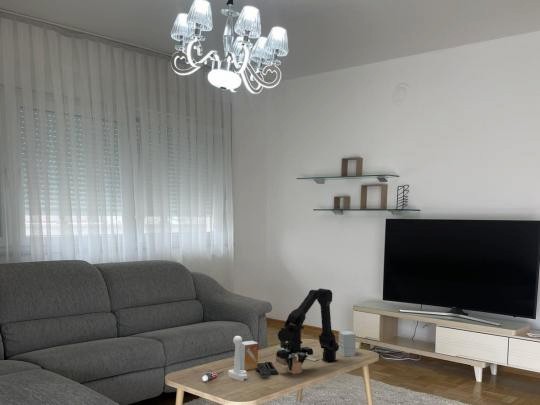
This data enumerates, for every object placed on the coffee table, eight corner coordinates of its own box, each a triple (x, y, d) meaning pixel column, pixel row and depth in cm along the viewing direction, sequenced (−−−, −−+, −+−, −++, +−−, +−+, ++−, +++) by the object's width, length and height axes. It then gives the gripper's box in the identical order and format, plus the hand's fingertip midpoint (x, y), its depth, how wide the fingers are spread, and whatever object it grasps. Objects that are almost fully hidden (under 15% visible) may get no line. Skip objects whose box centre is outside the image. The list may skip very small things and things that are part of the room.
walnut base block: (288, 359, 271) (288, 352, 271) (296, 363, 264) (296, 356, 264) (275, 361, 267) (276, 354, 267) (283, 366, 260) (283, 358, 260)
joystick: (226, 375, 242) (227, 334, 242) (238, 372, 247) (239, 331, 247) (240, 381, 234) (241, 338, 234) (252, 378, 238) (253, 336, 239)
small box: (244, 371, 249) (244, 345, 249) (238, 367, 254) (238, 342, 255) (257, 368, 254) (258, 343, 254) (251, 365, 259) (252, 340, 259)
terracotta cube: (295, 369, 253) (296, 359, 253) (301, 372, 248) (301, 362, 248) (287, 371, 250) (287, 361, 250) (293, 374, 246) (293, 363, 246)
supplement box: (349, 352, 287) (350, 330, 288) (355, 356, 280) (355, 333, 280) (338, 353, 285) (338, 331, 286) (343, 356, 278) (343, 334, 278)
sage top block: (287, 352, 271) (287, 345, 271) (294, 355, 265) (295, 348, 265) (276, 354, 267) (276, 346, 267) (284, 357, 261) (284, 350, 261)
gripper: (301, 333, 261) (301, 362, 261) (271, 336, 252) (270, 367, 251) (314, 338, 252) (313, 368, 251) (282, 342, 242) (282, 374, 242)
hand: (294, 369), depth 249 cm, fingers closed on terracotta cube, 5 cm apart
